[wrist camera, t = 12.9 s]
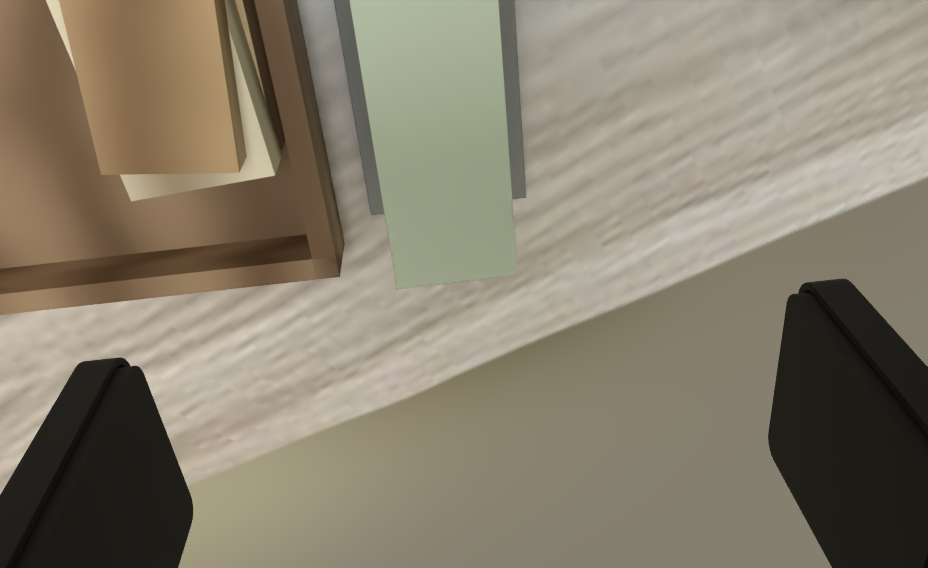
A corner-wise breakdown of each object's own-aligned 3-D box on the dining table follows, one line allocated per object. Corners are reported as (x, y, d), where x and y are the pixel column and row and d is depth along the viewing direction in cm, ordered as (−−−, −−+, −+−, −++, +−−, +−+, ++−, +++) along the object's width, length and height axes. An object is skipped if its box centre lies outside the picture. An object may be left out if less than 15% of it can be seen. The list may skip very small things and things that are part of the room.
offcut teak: (222, -12, 27) (213, -3, 25) (246, 156, 30) (239, 173, 28) (75, -13, 26) (58, -3, 25) (114, 158, 29) (101, 175, 28)
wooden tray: (247, -246, 27) (228, -252, 24) (344, 243, 37) (338, 282, 34) (-309, -185, 27) (-399, -183, 24) (-64, 289, 37) (-106, 332, 34)
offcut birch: (220, -46, 28) (209, -35, 26) (282, 155, 32) (275, 175, 30) (65, -16, 28) (44, -5, 26) (146, 180, 32) (131, 201, 30)
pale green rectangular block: (464, -153, 29) (489, -133, 20) (490, 159, 35) (517, 275, 26) (353, -141, 29) (330, -116, 20) (399, 169, 35) (396, 289, 26)
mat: (499, -222, 28) (500, -222, 28) (524, 193, 36) (526, 197, 36) (300, -200, 28) (299, -200, 28) (371, 211, 36) (371, 214, 36)
